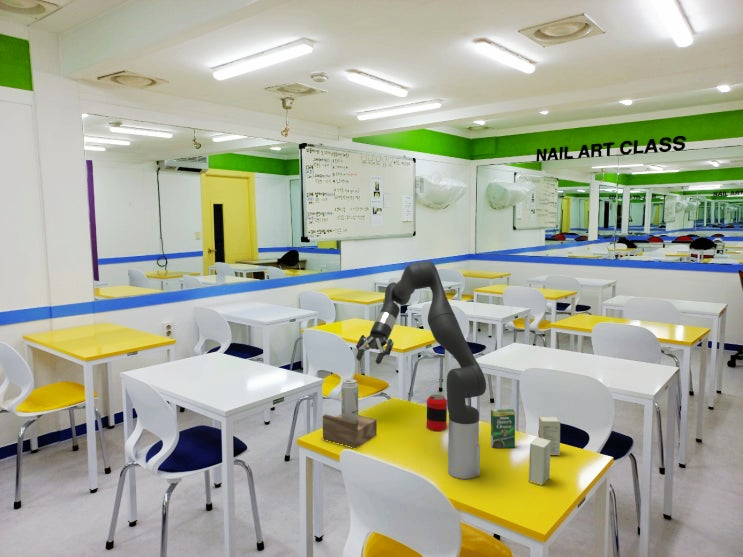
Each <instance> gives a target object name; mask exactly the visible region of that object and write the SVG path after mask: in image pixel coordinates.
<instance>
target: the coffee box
mask: <svg viewBox="0 0 743 557" xmlns="http://www.w3.org/2000/svg"><path fill="white" fill-rule="evenodd" d="M515 445H516V412H515V410H514V409H513V408H511V409H510V408H508V409H491V410H490V446H491V447H492V449H502V448H503V449H507V448H508V449H514V448H515V447H516V446H515Z"/></svg>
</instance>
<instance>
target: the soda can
mask: <svg viewBox="0 0 743 557" xmlns="http://www.w3.org/2000/svg"><path fill="white" fill-rule="evenodd" d="M447 411H448V407H447V398H446V396H444V395H442V394H441V395H440V394H432V395H429V397H428V398H426V428H427V429H428V430H429V429H430V431H432V430H433V431H432V432H442V430H443V431H445V430H447V420H448V416H447V415H448V414H447V413H448V412H447Z"/></svg>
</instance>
